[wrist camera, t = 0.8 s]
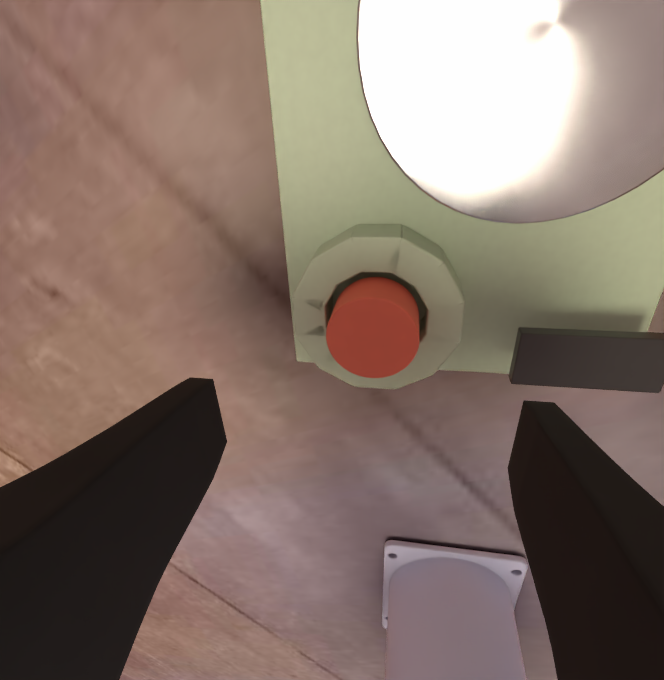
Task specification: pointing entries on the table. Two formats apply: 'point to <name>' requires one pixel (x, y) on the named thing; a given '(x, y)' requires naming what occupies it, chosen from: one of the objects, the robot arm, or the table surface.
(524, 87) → the weighing plate
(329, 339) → the tare button
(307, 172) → the scale
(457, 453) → the table surface
